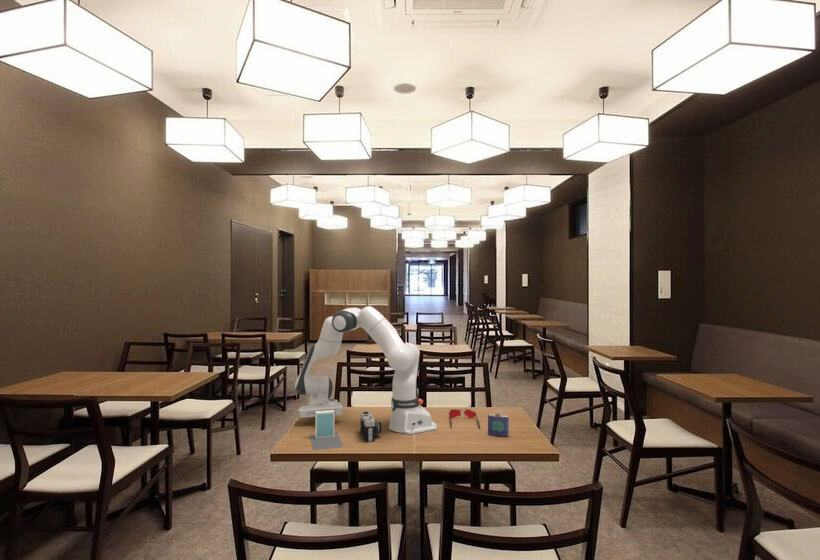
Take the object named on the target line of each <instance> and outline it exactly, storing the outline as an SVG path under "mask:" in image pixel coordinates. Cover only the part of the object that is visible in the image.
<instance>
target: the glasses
mask: <svg viewBox="0 0 820 560" xmlns="http://www.w3.org/2000/svg"><path fill="white" fill-rule="evenodd" d="M461 411H462V409H457V408H455V409H450V411H449V412H448V417H449V420H450V422H449V423H450V428H449V429H452V425H453V424H452V422H453V421H452V419H453V418H457V417H460V416H461V415H462V414H461ZM462 412H463V415H464V416H465V417H467V418H468V419H469V418H472V419H474V418H475V419H476V421H477V424H478V429H479V430H480V429H481V425H480V421H479V418H478V416H477V413H476V411H475V410H474V409H472V410H471V409H465V410H463V411H462Z"/></svg>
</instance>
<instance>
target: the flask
mask: <svg viewBox="0 0 820 560" xmlns="http://www.w3.org/2000/svg"><path fill="white" fill-rule="evenodd" d="M509 421H510V417H509V416H508V415H503V414H502V415H501V411H497V412H496V413H489V414H488V416H487V435H488V436H490V437H499V438H500V437H504V438H508V437H509V436H510V435H509V431H510V429H509V428H510V425H509V423H510V422H509Z"/></svg>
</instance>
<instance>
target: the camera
mask: <svg viewBox="0 0 820 560" xmlns="http://www.w3.org/2000/svg"><path fill="white" fill-rule="evenodd" d="M382 427H383V426H382V422H381V421H376V420H375V418H374V417H373V415H372V414H371V412H370V411H361V412H360V433H361V436H362V437H363V440H364V442H365V443H373V442H375V440H376V438H375V437H376V436H377V435H380V434H382Z"/></svg>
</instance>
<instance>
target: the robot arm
mask: <svg viewBox="0 0 820 560" xmlns="http://www.w3.org/2000/svg"><path fill="white" fill-rule="evenodd" d="M359 328H362V329H363V330H364V331H365V332H366V333H367V334H368V335H369V336H370V338H371V339H372V340H373V341H374V343H376V345H378V346H379V349H380V350H381V351H382V353H383V354H384V356H385V358H386V360H387V364H388V366H389V367H390V368H391V369H393V370H394V373H393V378H392V397H391V401H390V402H391V404H390V405H391V407H390V409H391V415H390V422H389V425H388V429H389V430H390V431H392V432H394V433H395V432H397V433H401V434H406V435H414V434H419V433H425V432H430V431H436V430H437V428H438V427H437V424H436V423H435V422H434V421H433V419H432V416H431V414H430V412H429V411H428V410H427V409H425V408H424V407H423V406H422V405H423V403H424V400H423V399H421V398H419V397H417V378H418V377H417V376H418V369H419V362H420V361H419V360H420V354H421V352H420V349H419V346H417V344H414V343H411V342H404V341H403V340H402V338H401V337H400V335H399V334H398V331H397V329H396V328H395V327H394V326H393V324H392V323H391V322H390V321H388V319H387V318H386V317H384V315H383V314H382V313H381V312H379V310H377V309H376V308H374V307H373V306H369V305H368V306H365V307H363V308H362V307H359V306H353V307H346V308H345V309H341V310H339V311H337V312H336V313H334V314H333V315H331V316H328V317H327V318H325V320H324V322H323V324H322V328H321V329H320V330H321V331H320V335H319V338H318V340H317V342H316V343H315V344H312V345H311V346H310V348H309V350H308V352H307V354H306V357H305V358H304V359H305V360H304V361H303V364H302V367H301V369H300V372H299V374H298V375H297V377H296V380H295V383H294V390H295V391H296V393H297V394H299V395H301V396H303V395H304V396H305V395H306V396H307V395H310V396H309V400H308V403H309V405H305V406H301V407H300V408H299V409H297V411H298V413H299V418H300V419H301V418H302V419H303V418H315V411H328V410H334V411H335V416H339V415H340V416H341V415H343V411H344V409H343V405H342V404H341V403H340V402H339V401H338V399H333V398H332V399H330V398H331V397H332V395H333V389H334V388H333V387H334V386H333V381H332V379H331V377H329V376H324V375H313V374H312V375H311V374H310V371H311V369H312V366H313V364H314V362H316V361H317V360H318V359H323V358H326V357H331V356H333V355H335V354H337V352H338V351H339V350H340V349H341V346H342V342H343V341H342V340H343V336H344V333H348V332H350V331H351V332H352V331H355V330H357V329H359Z"/></svg>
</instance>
